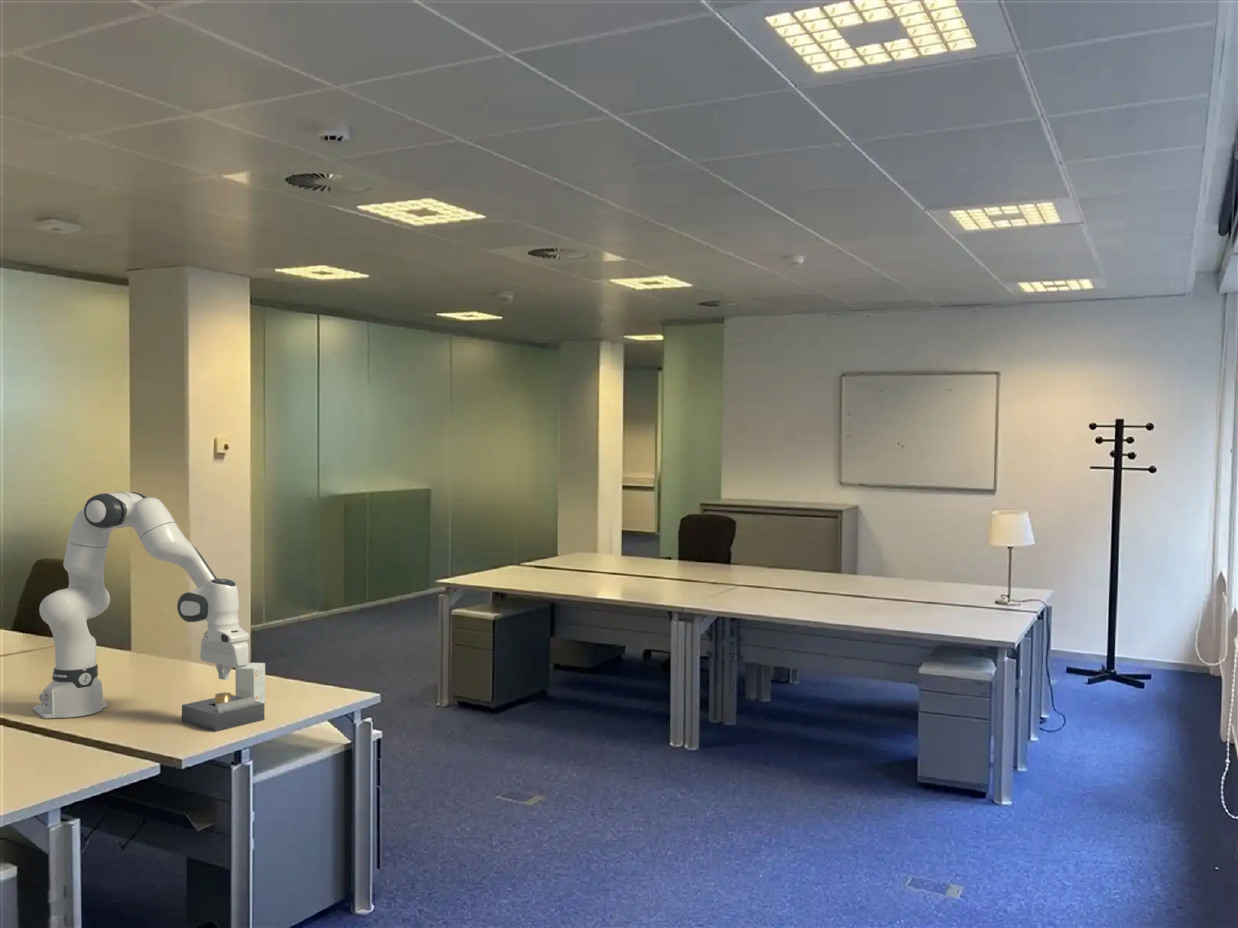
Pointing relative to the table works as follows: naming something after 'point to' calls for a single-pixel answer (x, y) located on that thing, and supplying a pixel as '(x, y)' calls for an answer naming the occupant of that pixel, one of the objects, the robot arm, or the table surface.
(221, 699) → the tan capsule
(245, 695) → the small box
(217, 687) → the table surface
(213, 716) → the jig
